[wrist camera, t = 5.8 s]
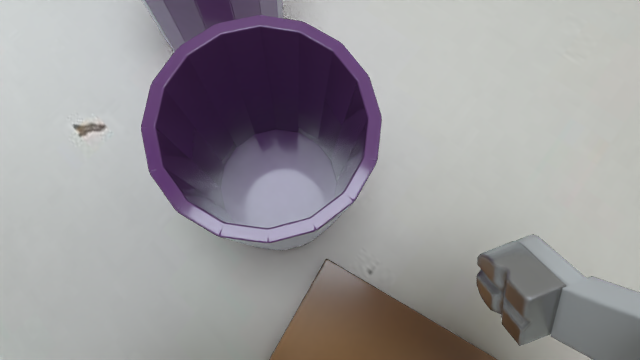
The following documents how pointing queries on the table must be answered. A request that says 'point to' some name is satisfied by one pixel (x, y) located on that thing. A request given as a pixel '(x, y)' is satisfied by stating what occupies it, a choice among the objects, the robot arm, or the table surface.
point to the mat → (364, 326)
